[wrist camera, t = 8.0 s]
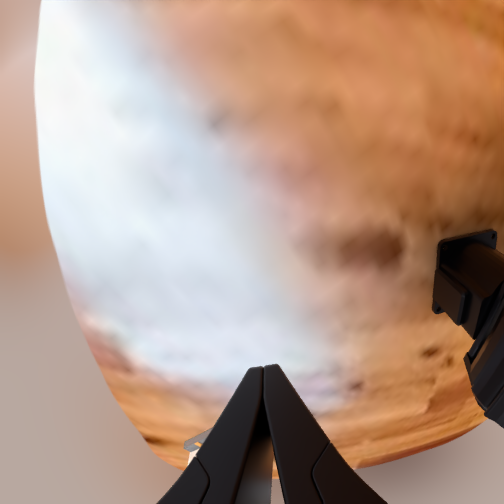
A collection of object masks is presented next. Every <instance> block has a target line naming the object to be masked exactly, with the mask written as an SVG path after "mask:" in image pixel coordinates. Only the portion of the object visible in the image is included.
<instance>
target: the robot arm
mask: <svg viewBox="0 0 504 504" xmlns="http://www.w3.org/2000/svg"><path fill="white" fill-rule="evenodd" d="M491 236H492V237H491ZM496 241H497V232H496V231H495V230H493V229H489V230H485V231H480V232H476V233H471V234H467V235H463V236H458V237H454V238H449V239H444V240H441V241H440V242H439V244H438V247H437V263H436V270H435V278H434V288H433V304H432V311H433V312H434V313H435V314H440V313H443V312H446V313H447V314H448V316H449V317H450V318H451V319H452V320H453V322H454V323H455V324H456V325H458V326H459V325H462V327H463V328H464V329H465V330H466V331H467V333H468V334H469V335H470V336H471V337H472V339H473V340H475V339H476V340H475V341H474V343H473V345H472V347H471V348H470V350H469V352H467V353H466V355H465V357H464V358H463V359H464V362H465V366H466V369H467V372H468V375H469V379H470V382H471V385H472V387H471V389H472V393H473V394H474V396H475V399H476V401H477V403H478V405H479V406H480V407H481V408H482V409H483V410H484V411H485V412H484V416H485V417H487V418H489V419H491V420H493V421H495V422H496V423H497V424H499V425H500V426H501V427H503V428H504V255H503V254H502V253H500V252H499V251H497V250H496ZM444 245H445V247H444V249H443V246H444ZM437 308H438V309H437ZM273 451H274V455H275V460H276V465H277V470H278V475H279V479H280V484H281V488H282V493H283V498H284V502H285V504H388V503H387V502H386V501H384V500H383V499H382V498H381V497H380V496H379V495H378V494H377V493H376V492H375V491H374V490H373V489H372V488H371V487H369V486H368V485H367V484H366V483H365V482H364V481H363V480H362V479H361V478H360V477H359V476H358V475H357V474H356V473H355V472H354V470H353V469H352V468H351V467H350V466H349V465H348V464H347V462H346V461H345V460H344V459H343V457H342V456H341V455H340V454H339V452H338V451H337V449H336V448H335V447H334V445H333V444H332V443H330V440H329V438H328V437H327V436H326V434H325V433H324V431H323V430H322V428H321V427H320V426H319V424H318V423H317V421H316V420H315V418H314V417H313V415H312V414H311V412H310V411H309V410H308V408H307V407H306V405H305V404H304V402H303V401H302V399H301V398H300V396H299V395H298V393H297V392H296V390H295V389H294V387H293V386H292V384H291V383H290V381H289V380H288V378H287V377H286V375H285V374H284V372H283V371H282V369H281V368H280V366H279V365H278V364H272V365H266V366H264V368H263V367H262V366H259V367H252V368H249V369H248V371H247V372H246V374H245V376H244V378H243V379H242V381H241V383H240V384H239V386H238V388H237V389H236V391H235V393H234V394H233V396H232V398H231V399H230V401H229V402H228V404H227V406H226V407H225V409H224V411H223V412H222V414H221V415H220V417H219V419H218V420H217V422H216V423H215V425H214V427H213V428H212V430H211V431H210V433H209V434H208V436H207V438H206V439H205V441H204V442H203V444H202V445H201V447H200V448H199V450H198V451H197V453H196V457H195V456H194V457H193V459H192V460H191V462H190V463H189V465H188V466H187V468H186V469H185V470H184V472H183V474H182V475H181V476H180V477H179V479H178V480H177V481H176V482H175V484H174V485H173V486H172V487H171V488H170V489H169V491H168V492H167V493H166V494H165V495H164V496H163V497H162V498H161V499H160V500H159V501H158V502H157V503H156V504H270V503H271V487H272V468H273Z"/></svg>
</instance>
